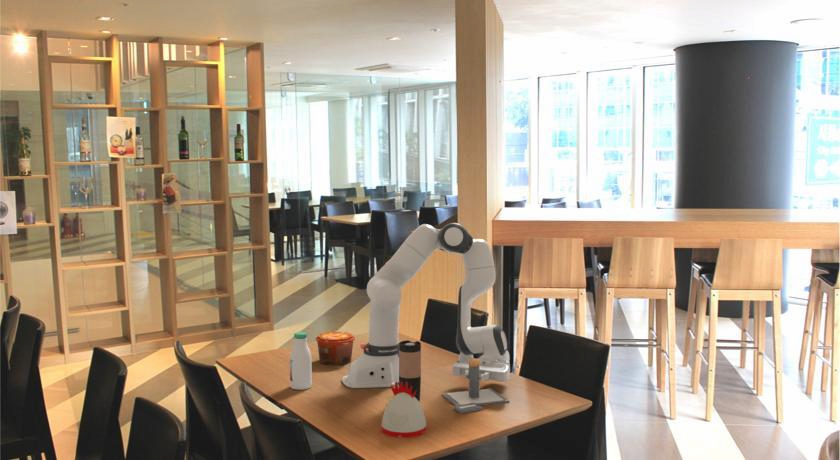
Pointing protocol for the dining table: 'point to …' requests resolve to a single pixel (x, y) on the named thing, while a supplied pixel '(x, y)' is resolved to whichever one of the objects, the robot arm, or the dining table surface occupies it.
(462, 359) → the flask
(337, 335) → the food container
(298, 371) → the milk bottle
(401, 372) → the travel mug
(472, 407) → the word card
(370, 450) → the dining table surface
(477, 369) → the marker
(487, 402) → the paper pad
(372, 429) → the dining table surface
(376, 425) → the dining table surface
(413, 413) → the kitchen timer
